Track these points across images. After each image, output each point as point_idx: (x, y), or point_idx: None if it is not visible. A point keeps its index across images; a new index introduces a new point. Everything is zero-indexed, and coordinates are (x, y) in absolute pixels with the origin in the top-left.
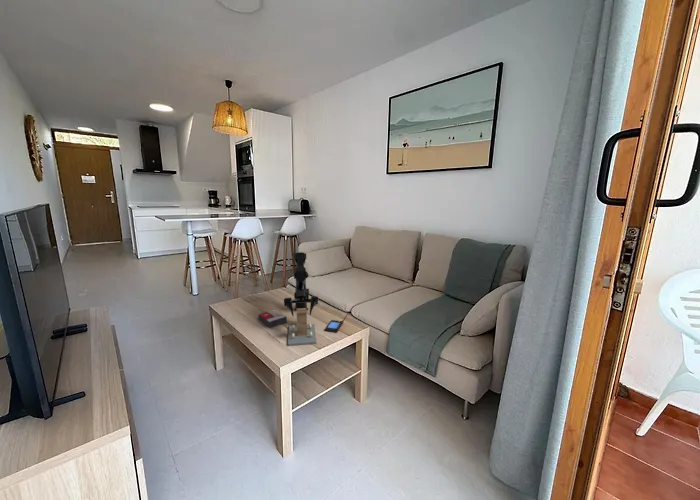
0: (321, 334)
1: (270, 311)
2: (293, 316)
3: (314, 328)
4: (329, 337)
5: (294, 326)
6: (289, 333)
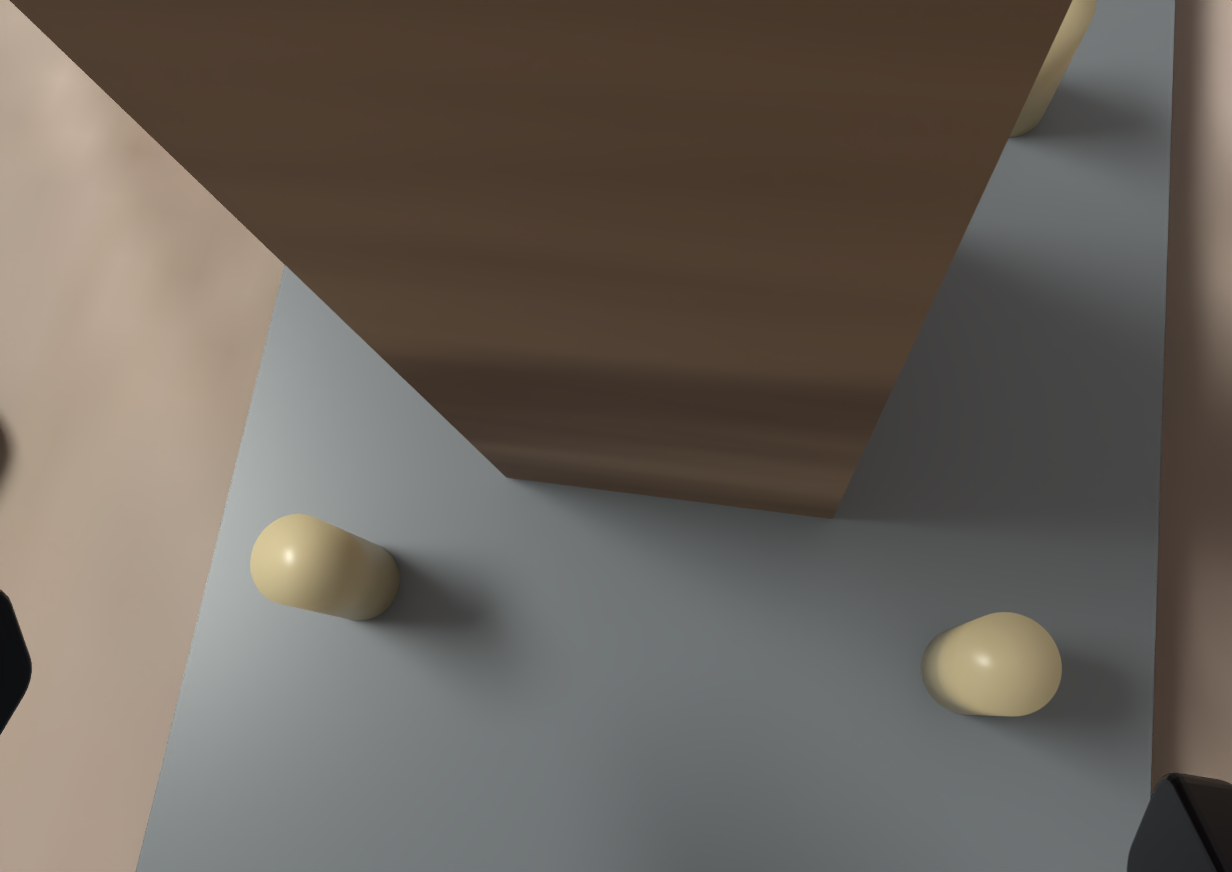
0: (150, 256)
1: None
2: (1133, 845)
3: (225, 559)
4: (21, 60)
5: (954, 642)
6: (1129, 442)
